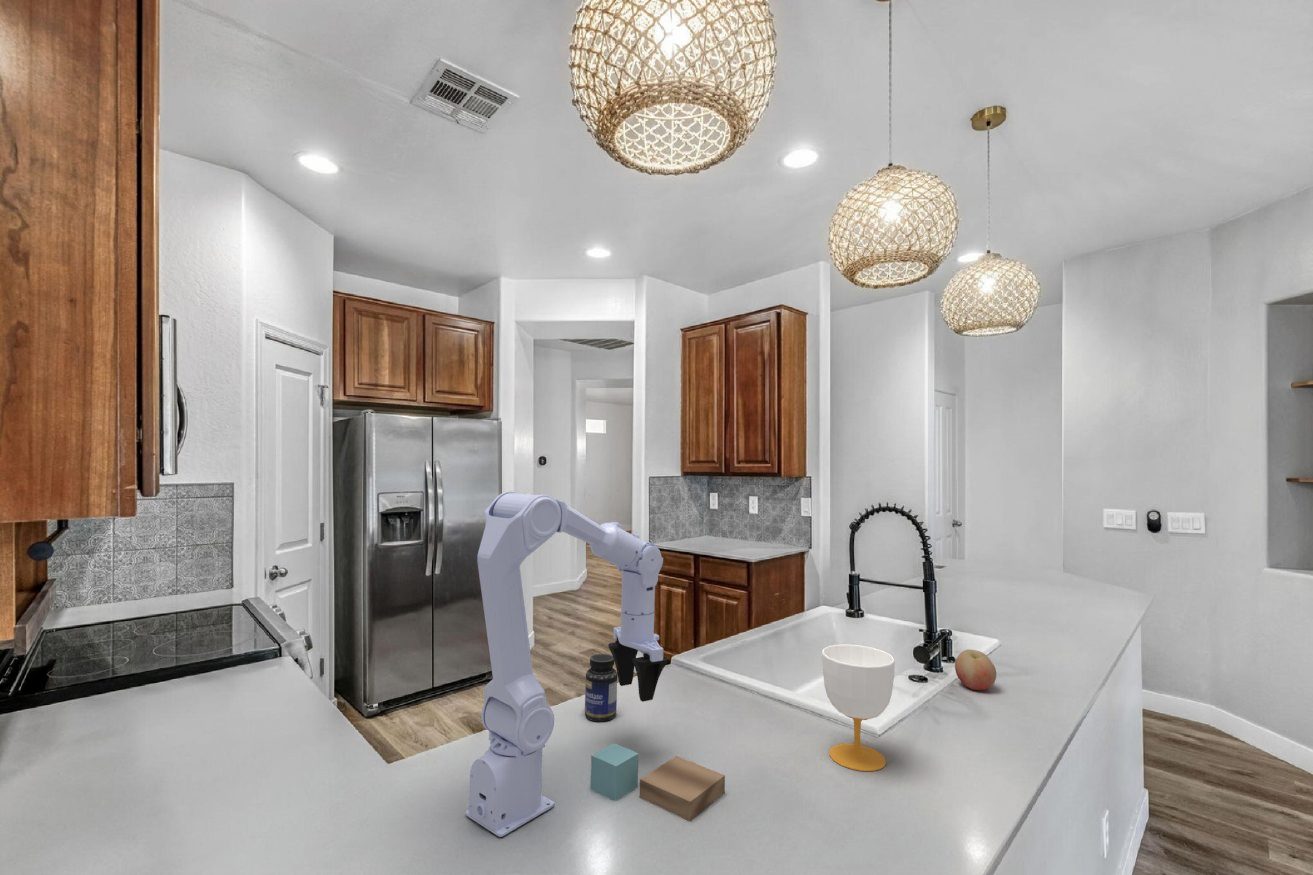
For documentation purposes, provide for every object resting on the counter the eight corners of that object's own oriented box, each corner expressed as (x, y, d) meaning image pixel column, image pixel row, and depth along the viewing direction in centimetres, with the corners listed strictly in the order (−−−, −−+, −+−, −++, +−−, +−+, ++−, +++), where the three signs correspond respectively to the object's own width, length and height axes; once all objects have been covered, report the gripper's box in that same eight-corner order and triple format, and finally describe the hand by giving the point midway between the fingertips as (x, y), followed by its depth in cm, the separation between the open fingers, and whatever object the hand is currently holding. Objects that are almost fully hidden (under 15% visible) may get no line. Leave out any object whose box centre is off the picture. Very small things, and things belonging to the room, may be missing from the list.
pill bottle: (578, 717, 112) (579, 659, 113) (596, 706, 118) (597, 650, 118) (605, 725, 110) (606, 664, 110) (622, 713, 115) (623, 655, 115)
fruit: (959, 692, 129) (959, 655, 129) (952, 679, 137) (952, 644, 137) (1000, 697, 127) (1000, 659, 127) (990, 683, 134) (990, 648, 135)
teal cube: (615, 801, 85) (616, 766, 85) (590, 789, 88) (591, 755, 88) (637, 787, 89) (638, 753, 89) (613, 775, 92) (613, 743, 92)
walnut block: (689, 824, 81) (690, 801, 81) (639, 800, 86) (639, 779, 86) (724, 795, 88) (724, 775, 88) (675, 775, 93) (676, 755, 93)
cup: (813, 764, 97) (814, 658, 97) (828, 735, 107) (829, 640, 108) (890, 783, 91) (890, 671, 92) (898, 751, 102) (898, 650, 102)
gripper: (679, 618, 97) (678, 702, 96) (638, 600, 110) (636, 674, 109) (642, 623, 94) (640, 711, 93) (603, 603, 106) (601, 680, 105)
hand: (635, 691), depth 101 cm, fingers open, 7 cm apart
